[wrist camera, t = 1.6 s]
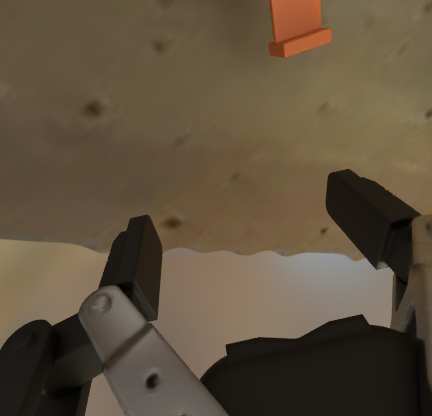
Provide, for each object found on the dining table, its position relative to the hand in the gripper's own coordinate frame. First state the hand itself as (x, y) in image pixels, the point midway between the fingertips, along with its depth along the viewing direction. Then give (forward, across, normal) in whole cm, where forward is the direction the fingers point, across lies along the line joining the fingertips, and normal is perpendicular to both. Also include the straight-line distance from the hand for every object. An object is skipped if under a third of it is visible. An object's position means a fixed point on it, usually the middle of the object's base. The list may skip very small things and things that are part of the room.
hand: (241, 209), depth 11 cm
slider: (+12, +7, +7) cm, 16 cm away
